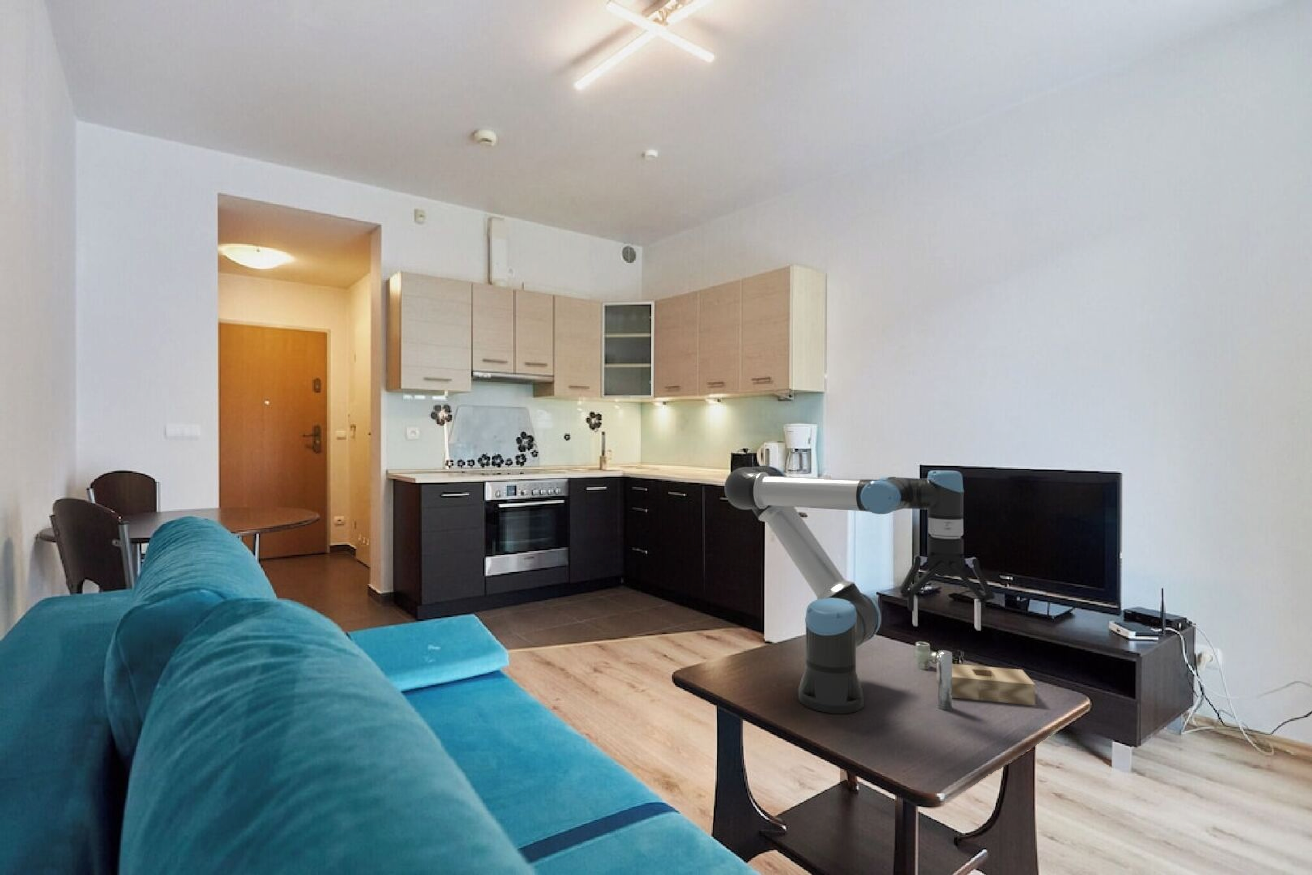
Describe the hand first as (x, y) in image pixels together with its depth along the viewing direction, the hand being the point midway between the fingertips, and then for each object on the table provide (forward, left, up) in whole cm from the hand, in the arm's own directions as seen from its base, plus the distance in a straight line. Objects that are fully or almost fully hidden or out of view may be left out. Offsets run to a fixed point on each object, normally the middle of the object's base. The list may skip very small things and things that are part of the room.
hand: (945, 626), depth 149 cm
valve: (+3, +26, -19) cm, 33 cm away
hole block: (+11, +12, -19) cm, 25 cm away
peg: (0, 0, -19) cm, 19 cm away
